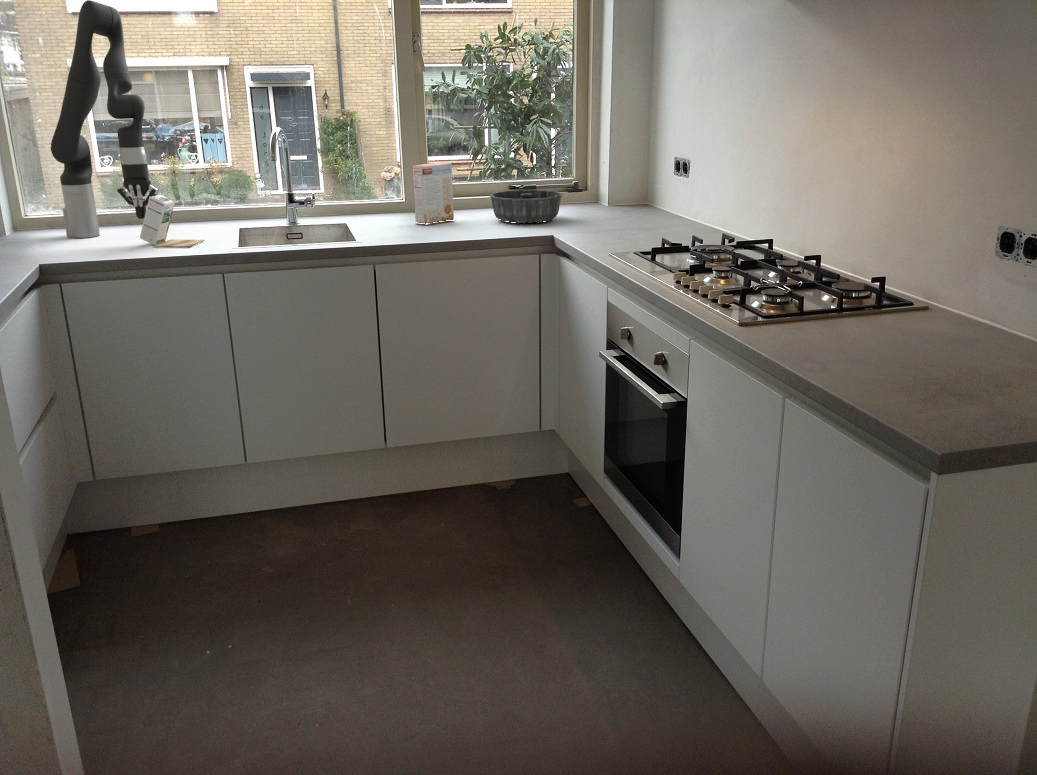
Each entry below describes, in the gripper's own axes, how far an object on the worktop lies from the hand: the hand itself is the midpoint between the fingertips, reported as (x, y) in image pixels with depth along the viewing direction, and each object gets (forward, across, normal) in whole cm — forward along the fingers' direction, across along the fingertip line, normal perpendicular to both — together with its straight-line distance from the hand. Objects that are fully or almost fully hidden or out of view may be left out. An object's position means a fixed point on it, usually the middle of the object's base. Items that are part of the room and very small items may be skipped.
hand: (142, 218), depth 285 cm
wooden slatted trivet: (+8, +11, 0) cm, 14 cm away
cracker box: (+9, +85, +49) cm, 98 cm away
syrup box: (+7, +2, 0) cm, 8 cm away
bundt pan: (+9, +118, +55) cm, 131 cm away
